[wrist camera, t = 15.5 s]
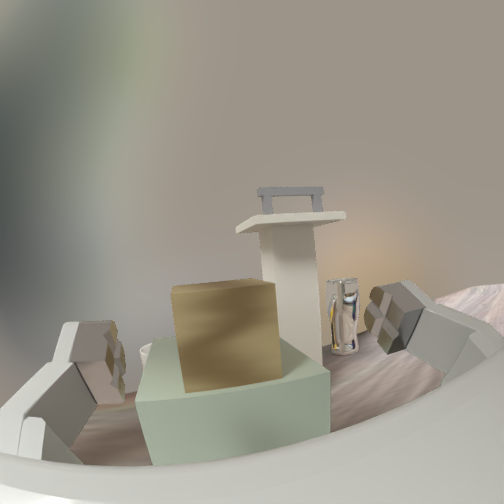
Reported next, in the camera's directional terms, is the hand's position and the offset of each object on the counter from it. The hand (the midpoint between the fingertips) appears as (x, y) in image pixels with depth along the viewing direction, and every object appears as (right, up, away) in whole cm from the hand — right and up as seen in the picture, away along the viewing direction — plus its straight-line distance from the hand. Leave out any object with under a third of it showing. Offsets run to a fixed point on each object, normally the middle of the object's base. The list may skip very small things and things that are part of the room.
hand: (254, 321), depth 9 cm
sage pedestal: (-1, -20, +11) cm, 23 cm away
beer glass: (+19, -19, +50) cm, 57 cm away
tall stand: (+7, -19, +33) cm, 39 cm away
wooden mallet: (-2, -5, +12) cm, 13 cm away
